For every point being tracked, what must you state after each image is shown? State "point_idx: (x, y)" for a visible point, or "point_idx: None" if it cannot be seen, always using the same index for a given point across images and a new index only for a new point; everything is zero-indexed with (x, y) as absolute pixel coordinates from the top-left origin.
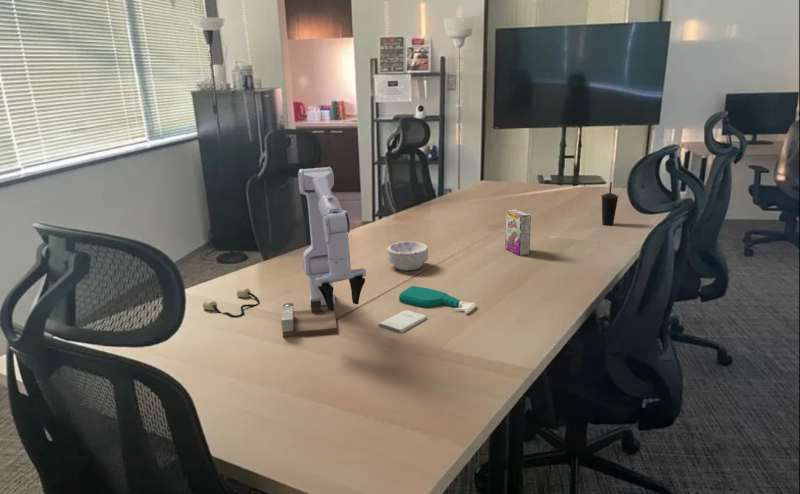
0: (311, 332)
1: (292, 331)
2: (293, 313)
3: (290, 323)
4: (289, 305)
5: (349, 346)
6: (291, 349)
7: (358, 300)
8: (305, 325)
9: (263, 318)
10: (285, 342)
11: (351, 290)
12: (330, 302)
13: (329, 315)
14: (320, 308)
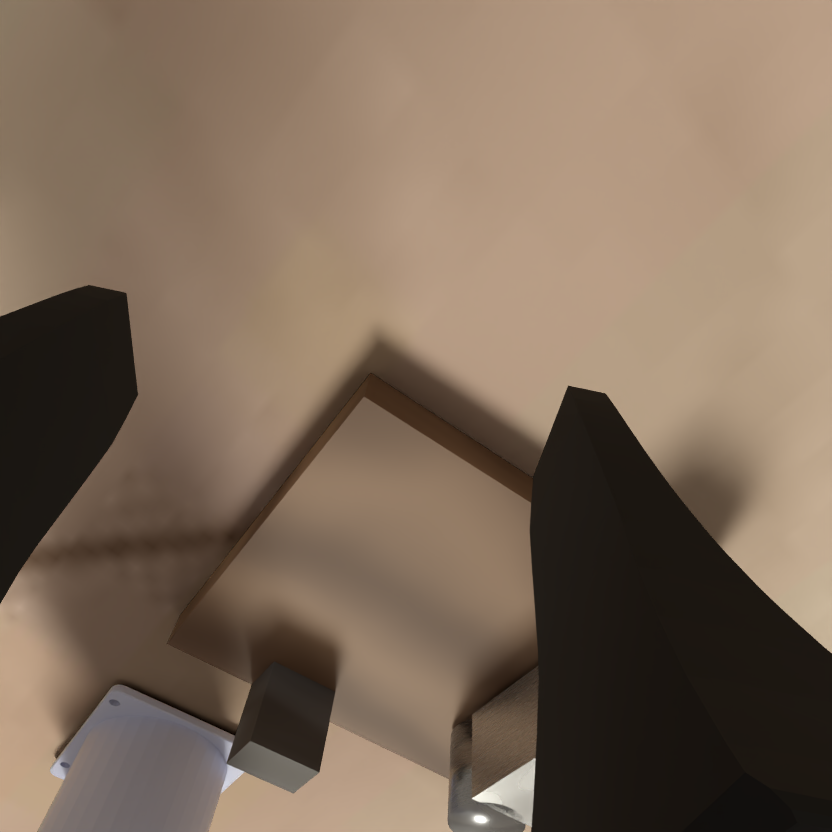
0: None
1: None
2: (514, 733)
3: None
4: (488, 814)
5: (477, 52)
6: (827, 414)
7: (48, 301)
8: (510, 589)
9: None
10: (746, 526)
11: (16, 571)
12: (662, 484)
13: (268, 586)
14: (272, 683)
